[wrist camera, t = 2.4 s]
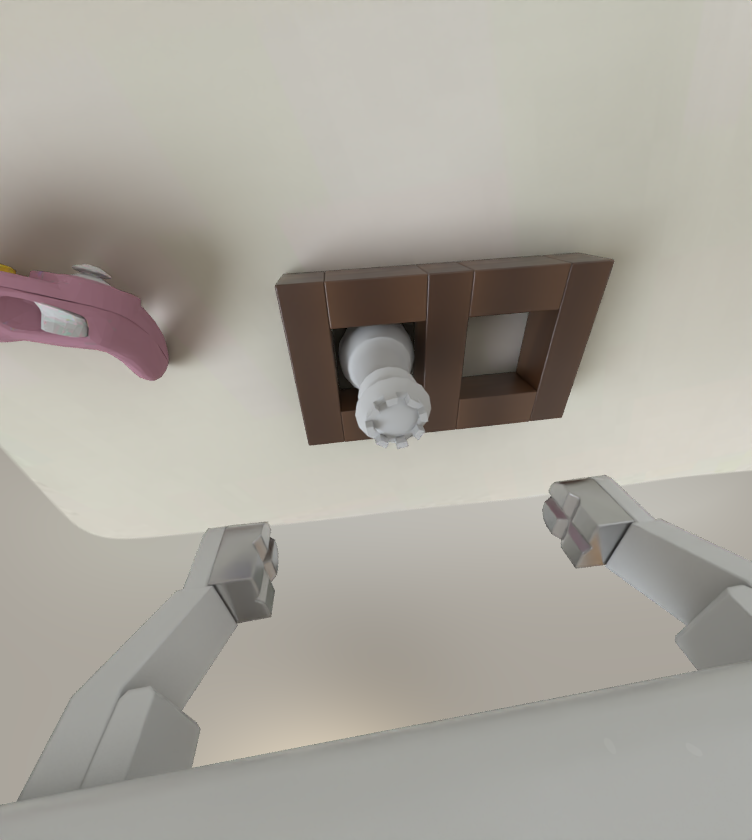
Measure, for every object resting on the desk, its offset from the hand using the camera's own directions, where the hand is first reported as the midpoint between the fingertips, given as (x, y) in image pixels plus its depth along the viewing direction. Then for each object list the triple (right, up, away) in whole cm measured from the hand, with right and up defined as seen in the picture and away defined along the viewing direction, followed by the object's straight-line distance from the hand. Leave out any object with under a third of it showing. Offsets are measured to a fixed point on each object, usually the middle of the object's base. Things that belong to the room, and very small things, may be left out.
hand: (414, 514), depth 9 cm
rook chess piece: (-1, +7, +10) cm, 13 cm away
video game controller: (-17, +9, +7) cm, 20 cm away
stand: (+2, +7, +10) cm, 13 cm away
